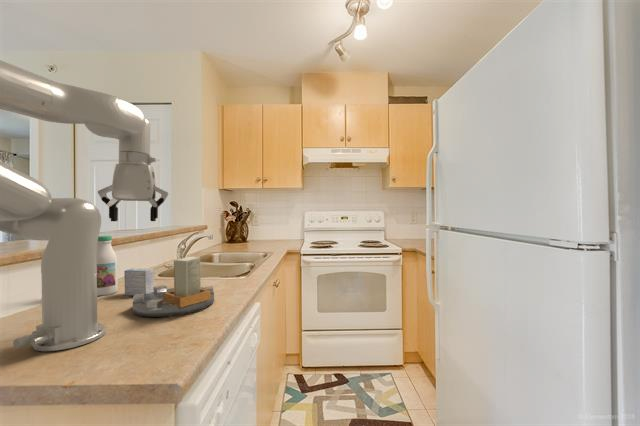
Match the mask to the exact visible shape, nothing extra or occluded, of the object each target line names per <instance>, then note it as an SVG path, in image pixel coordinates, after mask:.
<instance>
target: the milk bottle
mask: <svg viewBox="0 0 640 426" xmlns="http://www.w3.org/2000/svg"><path fill="white" fill-rule="evenodd" d="M112 237H113V236H111V235H99V236H98V241H97V255H96V263H97V297H99V296H107V295H112V294H115V293H117V292H118V291H119V290H118V288H119V284H118V283H119V280H118V279H119V278H118V277H119V275H118V274H119V272H118V271H119V269H118V257H117V254H116V252H115V250H114V248H113V246H112V241H113V238H112Z"/></svg>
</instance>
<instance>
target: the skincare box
mask: <svg viewBox="0 0 640 426" xmlns="http://www.w3.org/2000/svg"><path fill="white" fill-rule="evenodd" d="M173 288H174V295H176V296H180V297H184V296H188V295H192V294H196V293H200V292H201V257H200V256H199V257H198V256H185V257H182V258H177V259H174V260H173Z"/></svg>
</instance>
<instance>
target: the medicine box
mask: <svg viewBox="0 0 640 426" xmlns="http://www.w3.org/2000/svg"><path fill="white" fill-rule="evenodd" d="M154 271H155V270H154V267H152V268H151V267H132V268H128V269H125V270H124V278H123V279H124V296H134V295H135V294H142V293H145V294H148V293H151V292H153V287H155V272H154Z"/></svg>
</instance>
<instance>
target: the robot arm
mask: <svg viewBox="0 0 640 426" xmlns="http://www.w3.org/2000/svg"><path fill="white" fill-rule="evenodd" d="M0 110H3V111H7V112H10V113H15V114H18V115H22V116H26V117H30V118H34V119H37V120H41V121H44V122H50V123H57V124H67V125H68V124H69V125H72V124H73V125H74V124H77V125H79V124H80V125H83V124H84V126H85V127H86V129H87V130H88V131H89V132H90V133H92V134H94V135H96V136H99V137H102V138H109V139H116V140H118V163H116V164H115V167H114V172H113V174H112V175H113V176H112V182H111V183H112V184H110V185H109V186H106V187H103V188H101V189H99V190H98V191H97V194H98V196H99V197H100V198H101V201H102V202H103V203H104V204H105V205H106V206H107V207H108V218H109V219H110V222H118V221H119V217H118V216H119V209H118V208H119V207H117V205H118V204H119V203H120V202H121V201H127V202H129V201H130V202H132V201H133V202H148V203H149V204H150V205H151V207H150V214H149V215H150V220H149V221H151V222H156V219H158V216H159V210H158V209H159V207H160V206H161V205H162V204H163V203H165V201H166V199H167V198H168V196H169V192H168V191H165V190H164V189H161V188H160V187H158V186H156V176H155V171H154V166H153V165H152V163H156V157H153V156H151V124H150V121H149V120H148V119H147V118H146V117H145V115H144V113H143V111H142V110H141V109H140V108H139V107H137V106H136V105H134V104H133V103H131V102H129V101H127V100H124V99H122V98H120V97H117V96H115V95H112V94H108V93H105V92H101V91H98V90H97V91H96V90H92V89H89V88H83V87H78V86H75V85H70V84H66V83H61V82H58V81H54V80H53V79H50V78H47V77H44V76H42V75H39V74H37V73H34V72H31V71H28V70H26V69H23V68H21V67H18V66H16V65H14V64H12V63H10V62H6V61H3V60H1V59H0ZM151 165H152V166H151ZM110 192H111V197H112V198H111V199H110V198H109V197H108V195H107V194H108V193H110ZM157 193H159V194H160V197H159V198H158V199H157V200H156V198H157ZM101 215H102V214H101V211H100V210H99V209H98V208H97V206H96V205H94V203H92V202H91V201H88V200H86V199H81V198H74V197H59V198H58V197H55V198H52V195H51V192H50V191H49V189H48V188H47V187H46V185H44V183H42V182H41V181H39V180H38V179H36V178H34V177H33V176H30V175H28V174H26V173H24V172H22V171H20V170H18V169H16V168H14V167H12V166H10V165H8V164H6V163H5V162H2V161H0V232H2V233H5V234H9V235H11V236H15V237H18V238H22V239H26V240H30V241H46V242H47V244H46V246H45V249H44V251H43V253H42V256H41V262H40V273H41V324H39V325H36V326H35V327H36V328H35V330H34V331H32V333H30V334H25V335H22V336H20V337H17V338H14V339H13V341H12V345H13V347H14V348H15V349H19V348H22V347H25V346H27V345H31V346H32V348H33V349H34V350H35V351H39V352H55V351H64V350H68V349H73V348H77V347H80V346H83V345H86V344H89V343H92V342H94V341H96V340H98V339H100V338H101V337H103V336H104V335H105V334H106V333H107V327H106V325H104V324H102V323H99V322H98V316H99V315H98V296H97V263H96V255H97V241H98V236H100V231H101V226H102V216H101Z"/></svg>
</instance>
